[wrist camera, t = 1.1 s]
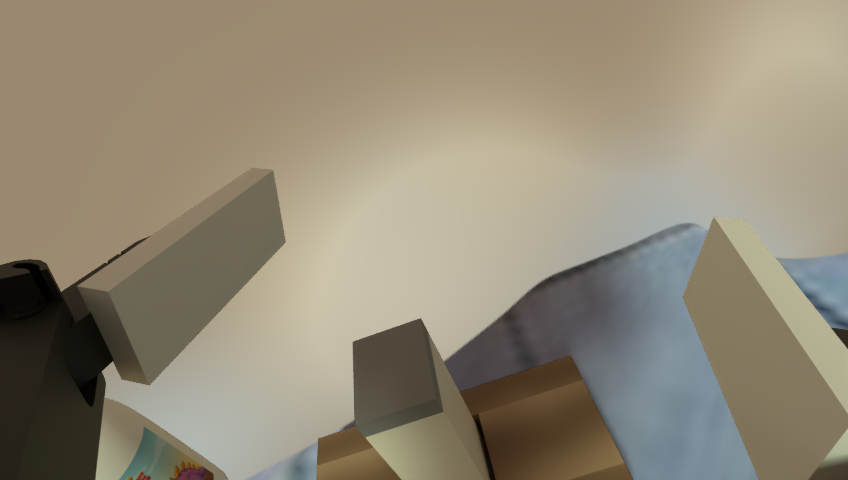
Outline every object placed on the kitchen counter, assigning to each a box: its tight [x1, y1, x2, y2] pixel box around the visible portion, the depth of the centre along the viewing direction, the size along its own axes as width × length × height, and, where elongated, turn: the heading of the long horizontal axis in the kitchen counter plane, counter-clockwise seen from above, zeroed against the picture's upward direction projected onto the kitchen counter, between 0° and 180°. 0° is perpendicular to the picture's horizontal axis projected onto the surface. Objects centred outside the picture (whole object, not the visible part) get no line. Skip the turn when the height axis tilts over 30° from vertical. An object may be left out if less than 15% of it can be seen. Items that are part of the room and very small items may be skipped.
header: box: [316, 356, 633, 480], centre depth 31 cm, size 10×20×4 cm, turn 99°
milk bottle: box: [95, 398, 228, 480], centre depth 31 cm, size 8×8×20 cm
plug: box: [353, 318, 496, 480], centre depth 27 cm, size 5×4×15 cm
